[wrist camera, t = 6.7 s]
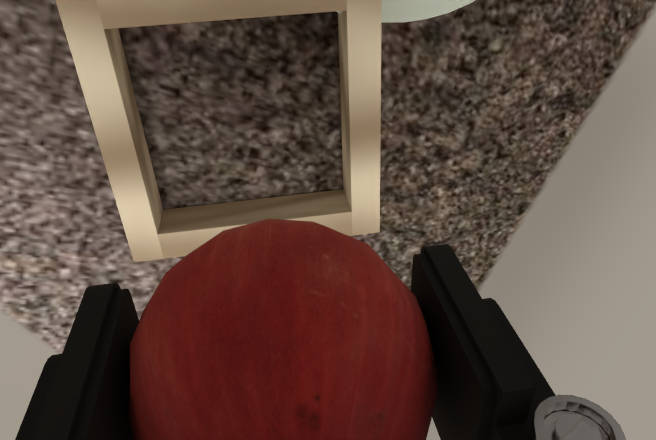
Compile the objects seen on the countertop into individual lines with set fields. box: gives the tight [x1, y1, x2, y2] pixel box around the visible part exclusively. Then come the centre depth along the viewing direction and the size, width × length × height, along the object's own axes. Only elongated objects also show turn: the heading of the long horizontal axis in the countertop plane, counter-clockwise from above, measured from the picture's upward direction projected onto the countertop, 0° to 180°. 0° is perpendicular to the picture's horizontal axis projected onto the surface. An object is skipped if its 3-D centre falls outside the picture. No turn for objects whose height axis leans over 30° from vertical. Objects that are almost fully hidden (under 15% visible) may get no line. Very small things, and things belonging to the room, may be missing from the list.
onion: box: [128, 219, 438, 440], centre depth 10 cm, size 6×6×8 cm
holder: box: [56, 0, 382, 262], centre depth 25 cm, size 13×13×2 cm
